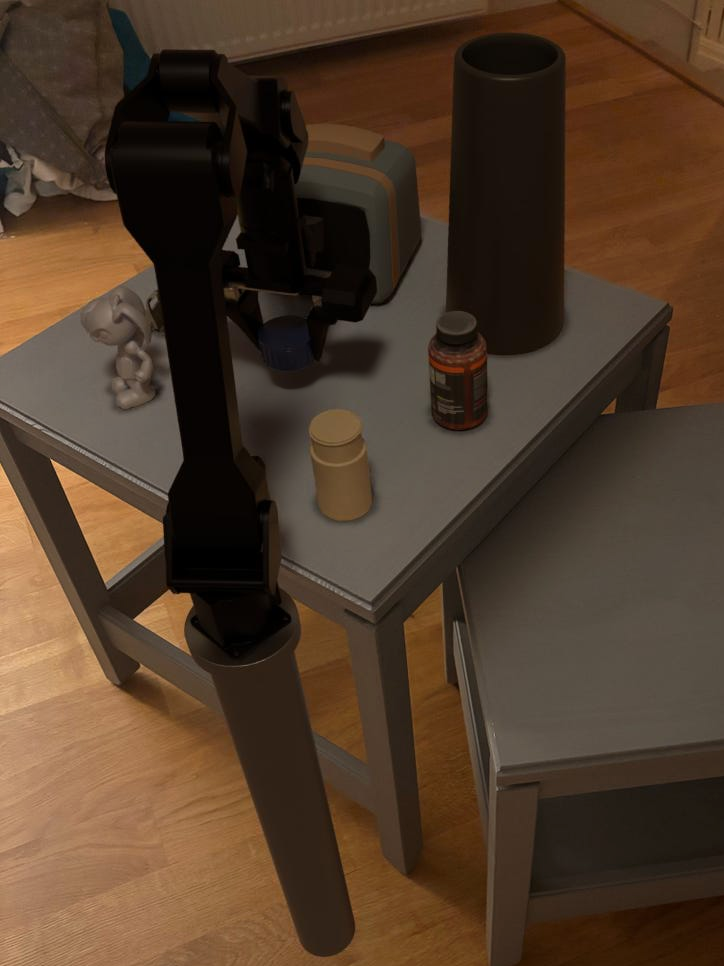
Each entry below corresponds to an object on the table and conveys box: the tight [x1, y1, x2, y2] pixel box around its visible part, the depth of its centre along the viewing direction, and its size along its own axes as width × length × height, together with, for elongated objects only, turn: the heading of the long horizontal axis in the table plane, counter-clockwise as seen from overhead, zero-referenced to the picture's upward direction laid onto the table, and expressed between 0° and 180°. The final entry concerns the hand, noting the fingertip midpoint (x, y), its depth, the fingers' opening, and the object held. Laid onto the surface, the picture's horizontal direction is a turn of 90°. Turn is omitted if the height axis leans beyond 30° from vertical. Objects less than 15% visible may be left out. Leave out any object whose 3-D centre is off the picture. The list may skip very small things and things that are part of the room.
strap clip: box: [137, 289, 165, 336], centre depth 118 cm, size 8×3×4 cm, turn 75°
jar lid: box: [258, 314, 316, 373], centre depth 110 cm, size 6×6×3 cm
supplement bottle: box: [427, 311, 489, 431], centre depth 106 cm, size 6×6×11 cm
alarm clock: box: [295, 123, 422, 304], centre depth 122 cm, size 16×16×16 cm
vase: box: [445, 31, 567, 356], centre depth 110 cm, size 14×14×29 cm
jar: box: [308, 408, 373, 522], centre depth 98 cm, size 5×5×10 cm
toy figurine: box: [80, 285, 156, 410], centre depth 108 cm, size 7×6×12 cm
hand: (291, 355), depth 111 cm, fingers closed on jar lid, 6 cm apart
